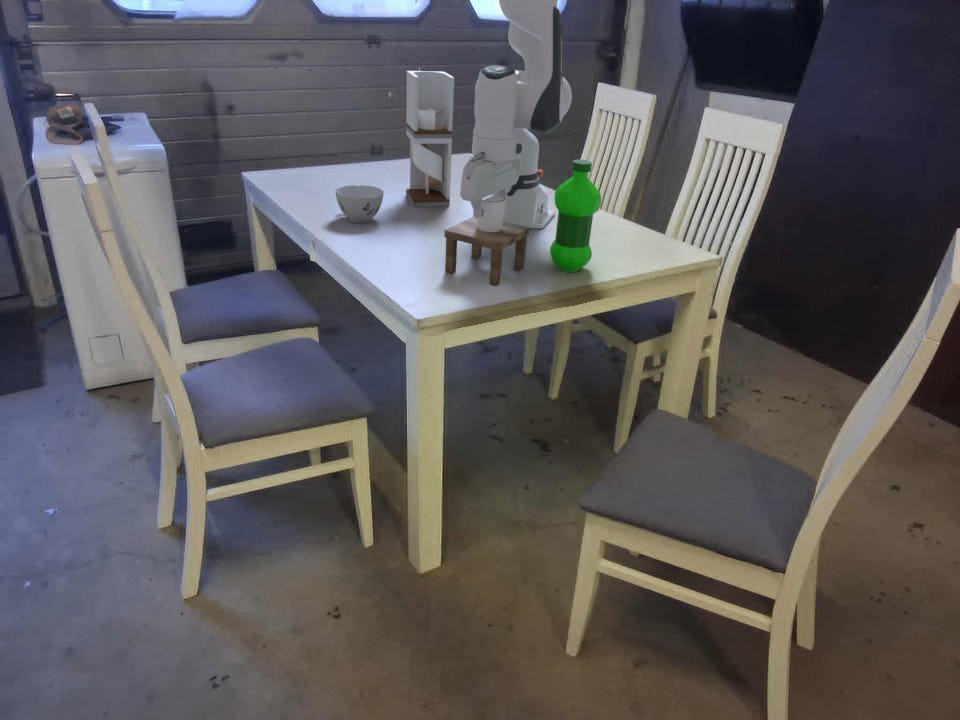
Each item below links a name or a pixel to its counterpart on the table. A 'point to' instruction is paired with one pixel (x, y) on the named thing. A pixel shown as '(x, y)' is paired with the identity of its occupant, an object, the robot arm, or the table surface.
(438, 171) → the display case
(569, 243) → the plastic bottle
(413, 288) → the table surface
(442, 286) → the table surface
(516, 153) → the robot arm
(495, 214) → the white cup
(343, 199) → the teacup
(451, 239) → the wooden stool
